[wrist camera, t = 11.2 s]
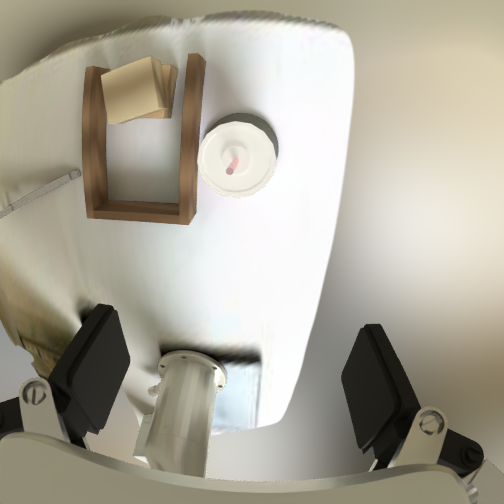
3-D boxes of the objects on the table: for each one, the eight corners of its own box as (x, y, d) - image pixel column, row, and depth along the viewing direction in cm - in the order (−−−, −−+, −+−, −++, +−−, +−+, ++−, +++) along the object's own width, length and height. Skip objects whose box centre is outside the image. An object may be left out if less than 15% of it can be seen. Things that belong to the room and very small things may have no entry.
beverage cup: (241, 110, 26) (226, 99, 14) (283, 148, 28) (303, 170, 16) (203, 151, 29) (160, 175, 16) (243, 187, 30) (233, 238, 18)
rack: (196, 212, 32) (188, 225, 29) (102, 207, 32) (87, 218, 29) (205, 61, 24) (198, 53, 21) (103, 71, 24) (86, 67, 20)
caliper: (7, 214, 33) (-16, 229, 27) (5, 209, 32) (-18, 223, 27) (82, 175, 30) (54, 187, 25) (80, 167, 30) (51, 179, 24)
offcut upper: (168, 108, 24) (158, 107, 22) (122, 123, 25) (108, 124, 22) (160, 61, 22) (150, 55, 19) (114, 78, 23) (100, 75, 20)
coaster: (233, 196, 31) (232, 197, 31) (191, 141, 29) (190, 141, 28) (291, 158, 29) (292, 158, 29) (250, 99, 26) (250, 99, 26)
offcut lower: (172, 118, 28) (163, 118, 25) (125, 117, 27) (114, 118, 25) (178, 69, 25) (170, 64, 22) (131, 71, 25) (120, 67, 22)
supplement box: (143, 414, 56) (131, 455, 44) (163, 411, 54) (152, 456, 43) (162, 427, 59) (153, 467, 47) (183, 425, 57) (175, 468, 46)
